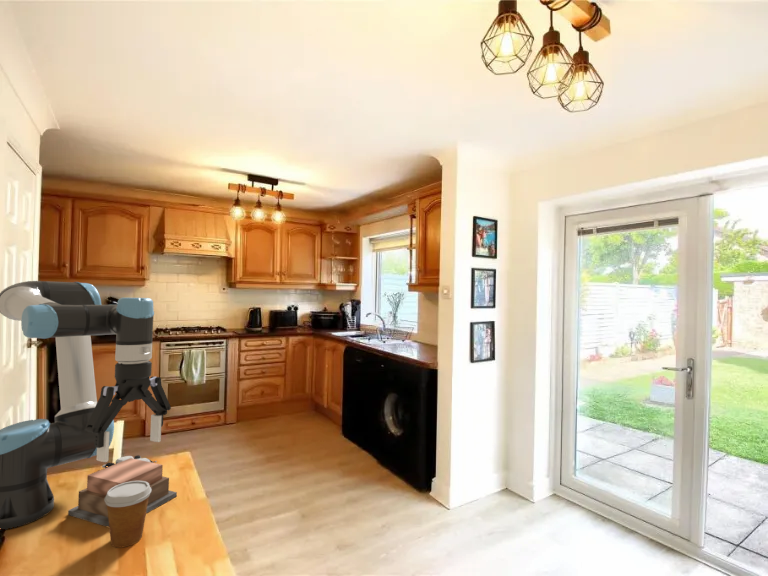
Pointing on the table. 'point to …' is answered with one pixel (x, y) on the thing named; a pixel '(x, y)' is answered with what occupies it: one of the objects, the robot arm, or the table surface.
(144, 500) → the disposable coffee cup
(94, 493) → the pink brown stepped block
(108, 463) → the robot toy
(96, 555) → the table surface
